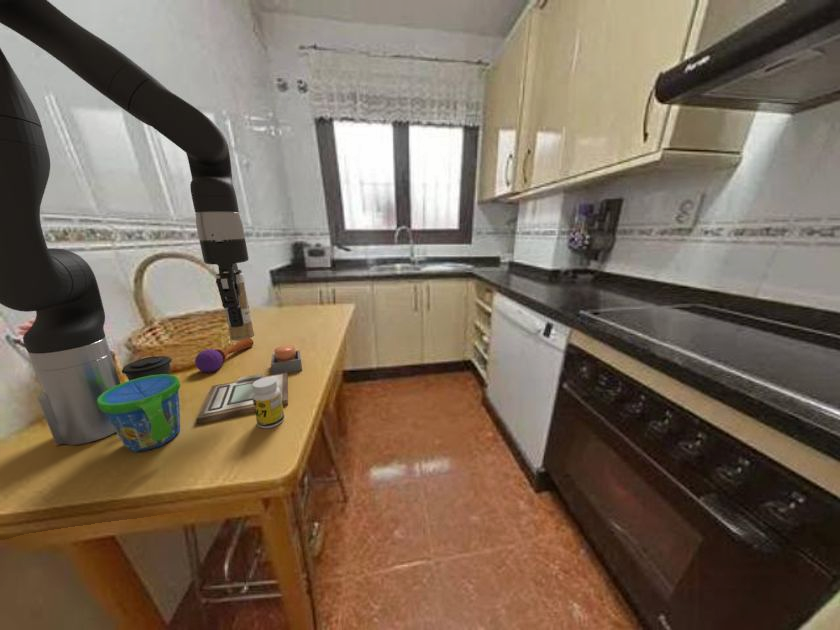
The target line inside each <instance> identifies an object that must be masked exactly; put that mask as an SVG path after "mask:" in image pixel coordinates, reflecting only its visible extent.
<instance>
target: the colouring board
mask: <svg viewBox="0 0 840 630" xmlns="http://www.w3.org/2000/svg"><path fill="white" fill-rule="evenodd" d="M266 377H273V378H275V379H276V381H277V387H278V388H279V389H280V392H281V399H282V405H283V407H285V406H289V381H288V380H289V378H288V377H289V376H288V373H281V374H276V375H273V374H271V375H266V376H265V375H264V376H263V373H258V374H253V375H247V376H241V377H238V379H237V381H234V382H233V381H232V382H227V383H225V382H224V383H221V384H215V385H212V386H211V387H210V389H209V391H208V394H207V396H206V397H205V399H204V402H203V404H202V405H201V408H200V410H199V412H198V414H197V417H195V418H196V422H197V423H196V424H197V425H200V424H204V423H209V422H215V421H219V420H224V419H229V418H233V417H236V416H243V415H247V414H252V413H255V409H254V404H253V398H252V395H253V393H254V391H253V383H254V382H255V381H257V380H259V379H262V378H266Z"/></svg>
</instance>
